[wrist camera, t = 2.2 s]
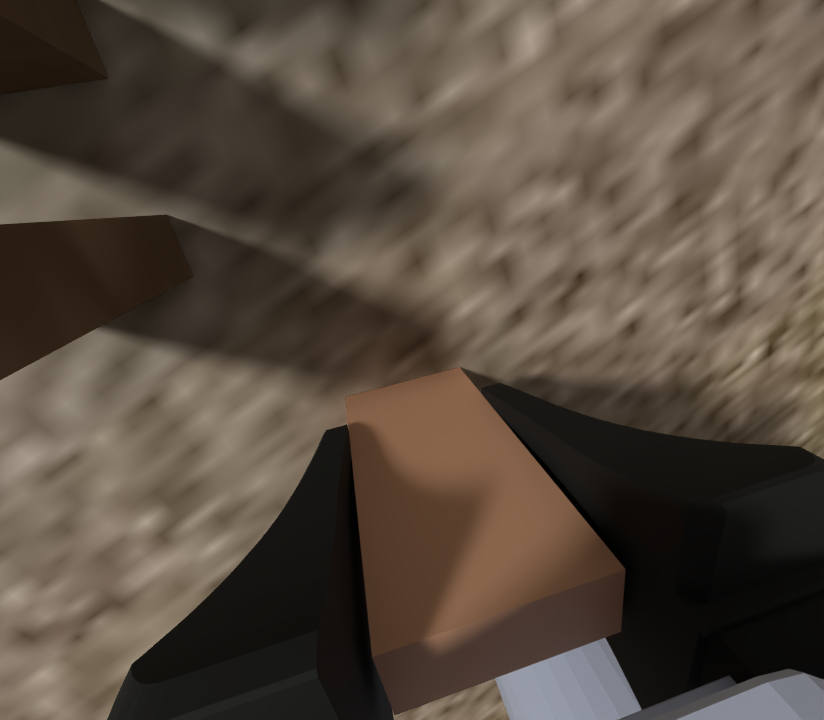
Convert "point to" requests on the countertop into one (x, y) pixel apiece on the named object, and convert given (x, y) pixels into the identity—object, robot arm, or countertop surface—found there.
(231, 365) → the countertop surface
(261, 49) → the countertop surface
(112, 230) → the domino
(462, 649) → the domino
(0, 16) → the domino
